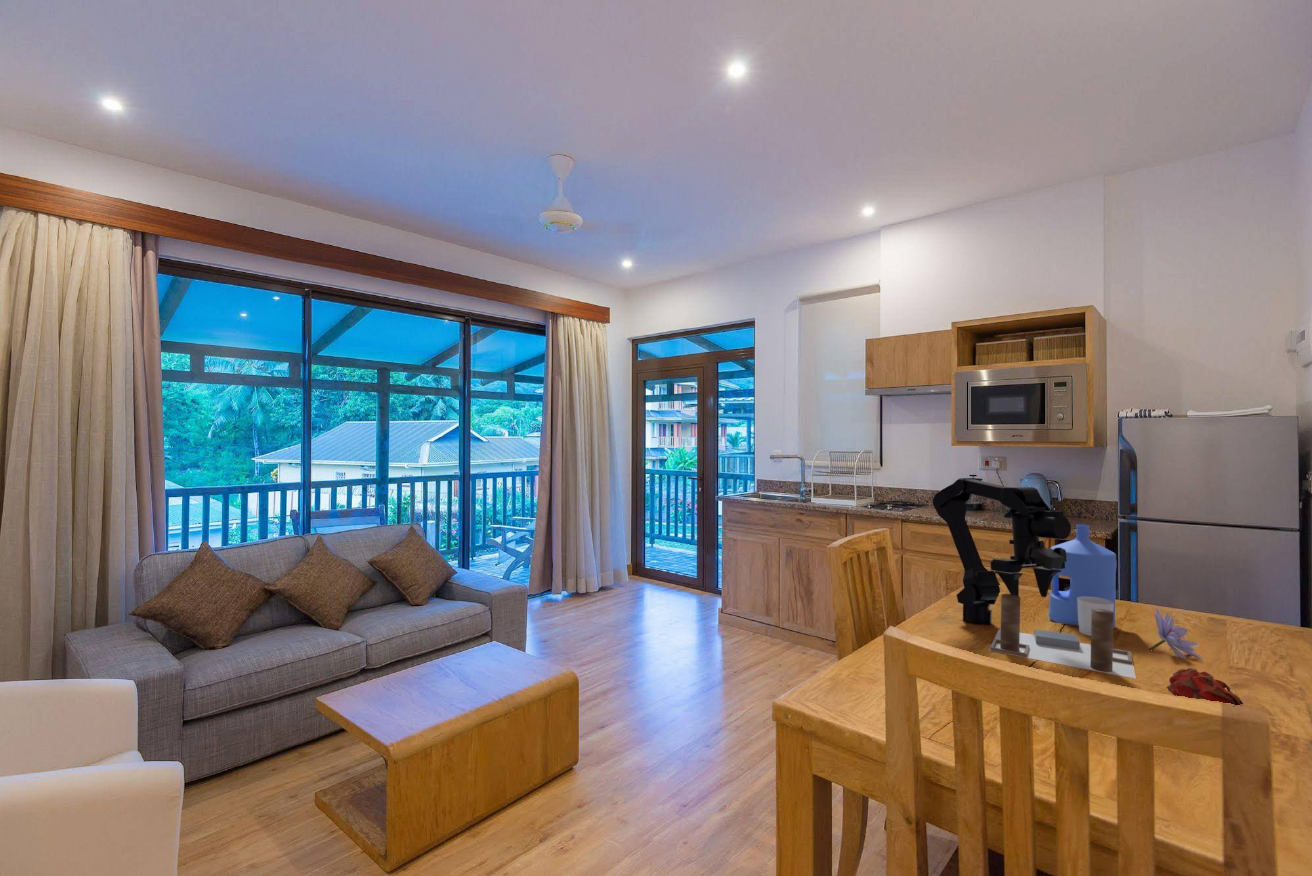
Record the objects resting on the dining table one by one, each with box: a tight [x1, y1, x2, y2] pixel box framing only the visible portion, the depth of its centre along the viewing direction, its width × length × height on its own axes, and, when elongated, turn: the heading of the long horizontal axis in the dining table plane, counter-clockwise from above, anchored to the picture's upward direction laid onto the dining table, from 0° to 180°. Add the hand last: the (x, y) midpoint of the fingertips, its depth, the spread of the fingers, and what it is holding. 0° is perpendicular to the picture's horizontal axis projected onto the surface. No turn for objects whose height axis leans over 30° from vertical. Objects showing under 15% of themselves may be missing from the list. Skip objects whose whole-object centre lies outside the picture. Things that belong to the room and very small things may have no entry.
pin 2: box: [1090, 608, 1114, 673], centre depth 136 cm, size 4×4×13 cm
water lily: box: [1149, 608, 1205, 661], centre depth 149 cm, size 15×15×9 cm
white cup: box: [1077, 596, 1114, 637], centre depth 160 cm, size 8×8×10 cm
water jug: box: [1048, 524, 1118, 630], centre depth 172 cm, size 16×16×28 cm
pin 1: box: [1000, 593, 1021, 652], centre depth 148 cm, size 4×4×13 cm
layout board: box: [989, 628, 1137, 680], centre depth 147 cm, size 28×20×2 cm
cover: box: [1033, 628, 1081, 650], centre depth 152 cm, size 9×6×2 cm, turn 62°
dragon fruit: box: [1166, 667, 1244, 706], centre depth 118 cm, size 8×8×12 cm
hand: (1029, 598), depth 153 cm, fingers open, 9 cm apart
